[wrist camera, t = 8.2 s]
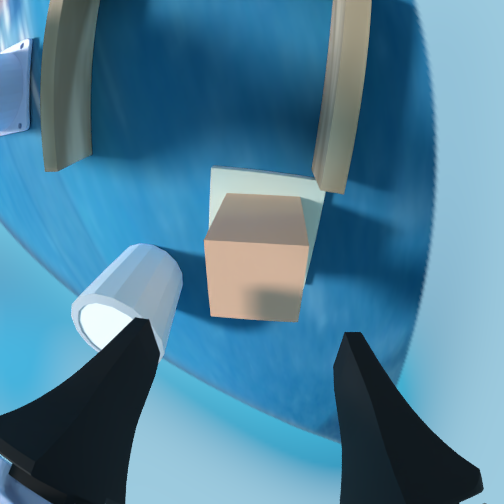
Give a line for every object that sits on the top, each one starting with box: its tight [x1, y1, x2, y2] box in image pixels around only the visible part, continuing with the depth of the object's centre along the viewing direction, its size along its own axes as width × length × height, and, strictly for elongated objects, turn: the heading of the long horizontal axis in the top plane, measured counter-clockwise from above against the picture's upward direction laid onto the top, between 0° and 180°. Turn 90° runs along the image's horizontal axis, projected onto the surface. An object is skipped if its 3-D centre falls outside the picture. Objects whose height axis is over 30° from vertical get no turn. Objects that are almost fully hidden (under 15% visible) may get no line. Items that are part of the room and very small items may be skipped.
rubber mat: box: [209, 166, 326, 288], centre depth 19 cm, size 7×8×1 cm
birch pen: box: [40, 0, 372, 194], centre depth 12 cm, size 17×13×4 cm
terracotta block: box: [204, 193, 309, 322], centre depth 16 cm, size 4×4×6 cm
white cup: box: [71, 243, 183, 363], centre depth 19 cm, size 7×7×7 cm
